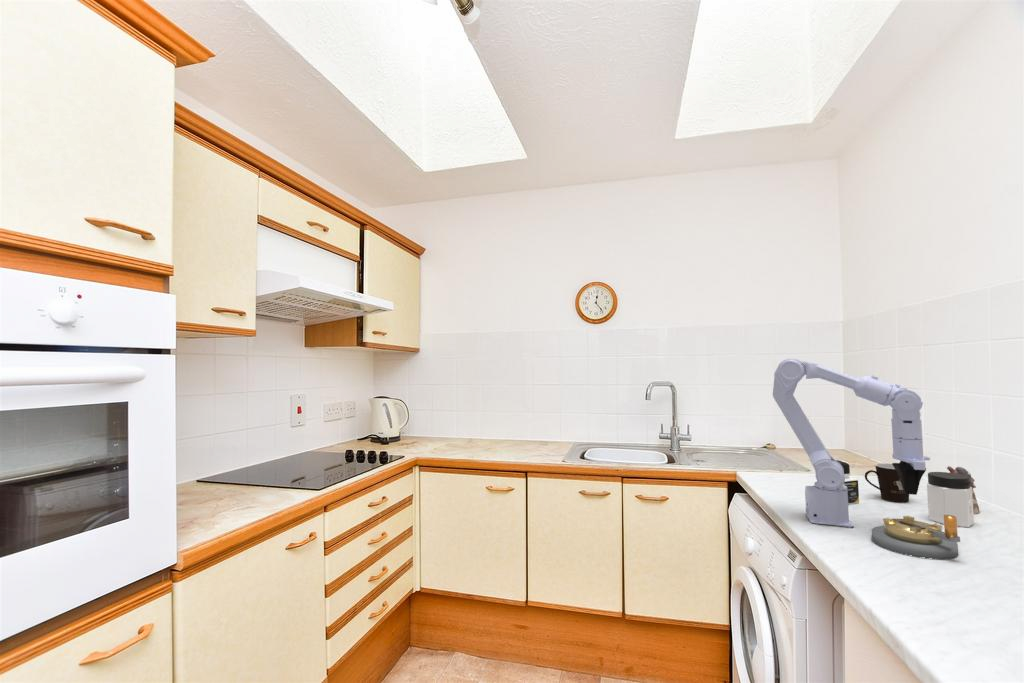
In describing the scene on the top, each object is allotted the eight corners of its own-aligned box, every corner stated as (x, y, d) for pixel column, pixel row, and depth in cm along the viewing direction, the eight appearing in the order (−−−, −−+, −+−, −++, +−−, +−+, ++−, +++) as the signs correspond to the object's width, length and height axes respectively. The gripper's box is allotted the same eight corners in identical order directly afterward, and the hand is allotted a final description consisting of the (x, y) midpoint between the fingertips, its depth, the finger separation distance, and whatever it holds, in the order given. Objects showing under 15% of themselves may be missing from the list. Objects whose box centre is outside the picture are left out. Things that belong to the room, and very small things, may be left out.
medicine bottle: (841, 505, 138) (839, 464, 138) (819, 499, 145) (817, 459, 145) (859, 503, 140) (857, 462, 140) (837, 496, 147) (835, 457, 147)
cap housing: (883, 553, 103) (882, 544, 103) (863, 530, 117) (863, 522, 117) (972, 563, 97) (971, 553, 98) (940, 538, 111) (940, 530, 111)
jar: (967, 529, 117) (964, 480, 117) (925, 521, 123) (922, 474, 124) (978, 522, 122) (974, 475, 122) (936, 514, 128) (934, 470, 129)
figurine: (983, 515, 127) (980, 470, 127) (948, 511, 130) (945, 468, 131) (975, 508, 133) (972, 465, 133) (941, 505, 137) (939, 463, 137)
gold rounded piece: (873, 531, 111) (872, 501, 112) (907, 527, 113) (905, 498, 114) (938, 553, 98) (936, 520, 98) (975, 549, 100) (973, 515, 100)
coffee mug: (910, 498, 144) (908, 465, 144) (916, 505, 136) (914, 470, 137) (863, 493, 150) (861, 461, 150) (866, 500, 142) (864, 466, 143)
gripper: (940, 443, 108) (944, 503, 108) (915, 434, 121) (919, 487, 121) (902, 442, 111) (905, 500, 110) (882, 433, 124) (885, 485, 124)
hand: (910, 493), depth 116 cm, fingers closed
